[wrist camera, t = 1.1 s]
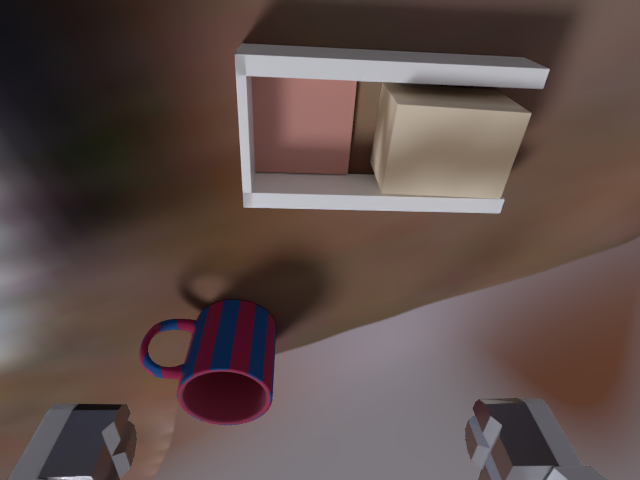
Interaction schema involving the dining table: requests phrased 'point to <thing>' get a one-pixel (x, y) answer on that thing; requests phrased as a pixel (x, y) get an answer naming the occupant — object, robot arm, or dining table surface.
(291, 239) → the dining table surface
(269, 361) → the mug
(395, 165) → the block
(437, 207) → the white u-shaped frame
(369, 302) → the dining table surface
